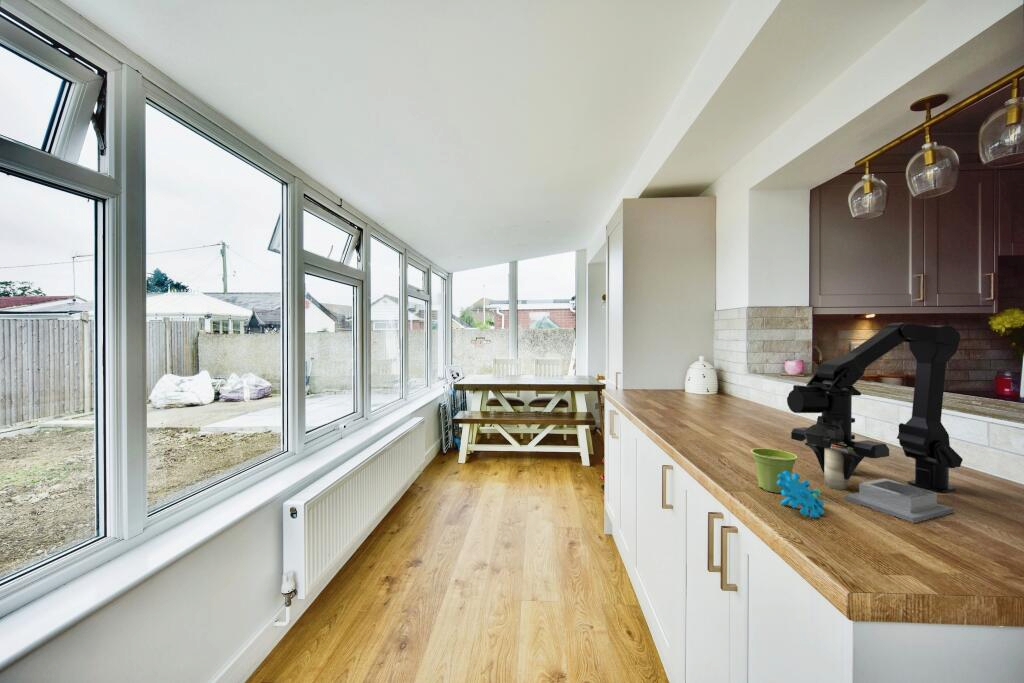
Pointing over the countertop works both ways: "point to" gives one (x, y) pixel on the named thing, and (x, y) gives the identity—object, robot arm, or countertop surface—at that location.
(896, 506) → the socket collar
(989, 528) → the countertop surface
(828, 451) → the beech peg
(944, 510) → the socket plate
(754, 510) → the countertop surface
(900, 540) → the countertop surface
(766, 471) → the plant pot
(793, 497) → the blue knobbly cluster
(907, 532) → the countertop surface
